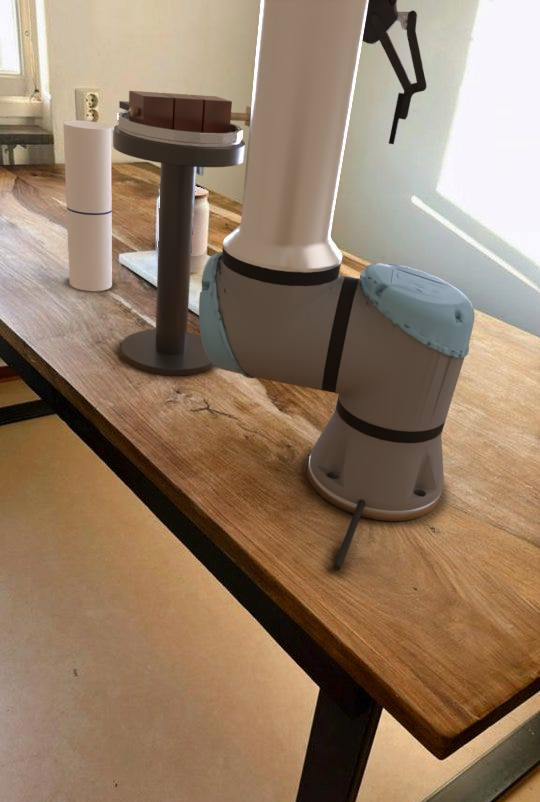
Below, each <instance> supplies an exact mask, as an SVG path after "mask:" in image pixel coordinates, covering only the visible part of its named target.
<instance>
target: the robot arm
mask: <svg viewBox="0 0 540 802" xmlns="http://www.w3.org/2000/svg"><path fill="white" fill-rule="evenodd" d="M397 3H398V0H260V9H259V17H258V18H259V19H258V31H257V41H256V50H255V51H256V53H255V62H254V63H255V65H254V72H253V73H254V75H253V85H252V97H251V98H252V99H251V105H250V106H251V117H250V127H249V129H248V139H247V141H248V142H247V150H246V151H247V152H246V163H245V172H244V173H245V175H244V182H243V183H244V184H243V185H244V186H243V194H242V207H241V215H240V223H239V225H238V226H237V227H236V228H235V229H233V230H232V231H231V232H230V233H229V234H227V236H225V237H224V238H223V242H222V251H220V252H217V253H214V254H212V255H211V256H210V257H209V258H208V259H207V261H206V263H205V266H204V267H203V272H202V277H201V291H200V292H199V298H198V299H199V301H198V322H199V333H200V336H201V339H202V344H203V348H204V350H205V353H206V355H207V357H208V358H209V359H210V361H211V362H212V363H213V365H215V366H214V367H216V368H218V369H219V370H222V371H227V372H231V373H235V374H239V375H242V376H243V377H245V378H247V379H254V378H256V379H261V380H266V381H270V382H277V383H281V384H285V385H291V386H297V387H302V388H307V389H312V390H317V391H323V392H329V393H332V394H337V400H336V405H335V410H334V411H333V413H332V415H331V417H330V419H329V420H328V422H327V423H326V425H325V427H324V429H323V430H322V432H321V433H320V435H319V437H318V438H317V440H316V442H315V444H314V445H313V447H312V448H311V449H312V450H311V452H310V455H309V458H308V464H307V470H306V471H307V478H308V480H309V483H310V484H311V486H312V488H313V489H314V490H315V491H316V493H317V494H318V495H320V496H321V497H322V498H323V499H324V500H325V501H327V502H329V503H330V504H332V505H333V506H335V507H337V508H339V509H340V510H343V511H345V512H347V513H349V514H353V515H352V517H351V520H350V523H349V525H348V528H347V530H346V533H345V535H344V538H343V541H342V544H341V546H340V548H339V551H338V553H337V555H336V558H335V560H334V563H333V565H332V569H333V570H334V571H336V572H337V571H340V570H341V568H342V566H343V563H344V561H345V559H346V556H347V553H348V551H349V549H350V546H351V543H352V541H353V538H354V535H355V534H356V533H355V532H356V530H357V527H358V525H359V521H360V519H361V517H362V518H367V519H371V520H376V521H377V520H378V521H387V522H400V521H408V520H409V521H410V520H413V519H417V518H421V517H423V516H425V515H427V514H429V513H430V512H432V511H433V510H434V509H435V508H436V507H437V505H438V503H439V502H440V499H441V496H442V492H443V489H444V481H445V475H444V473H445V472H444V457H443V441H442V440H443V439H442V434H443V431H444V427H445V425H446V420H447V418H448V414H449V411H450V407H451V404H452V400H453V397H454V394H455V390H456V387H457V383H458V380H459V377H460V374H461V370H462V367H463V364H464V361H465V360H464V359H465V358H466V357H467V356H468V355H469V352H470V341H471V337H472V333H473V329H474V325H475V317H476V315H475V310H474V306H473V303H472V302H471V301H470V299H469V298H468V297H467V296H466V295H465V294H464V293H463V292H462V291H461V290H459V288H457V287H455V286H454V285H453V284H451V283H449V282H447V281H445V280H444V279H442V278H439V277H437V276H435V275H434V274H430V273H427V272H425V271H422V270H419V269H416V268H413V267H409V266H405V265H400V264H395V263H388V264H386V263H383V262H377V263H372V264H368V265H366V266H365V268H364V269H363V271H362V272H360V274H359V278H358V277H352V276H347V275H343V274H340V272H341V266H342V260H343V254H342V253H341V250H340V249H339V248H338V247H337V245H336V244H335V242H334V241H333V240H332V237H331V232H332V226H333V220H334V213H335V207H336V201H337V196H338V189H339V184H340V183H339V182H340V177H341V171H342V165H343V159H344V151H345V147H346V141H347V135H348V128H349V122H350V115H351V111H352V105H353V104H352V103H353V99H354V92H355V87H356V79H357V74H358V68H359V61H360V55H361V50H362V44H363V42H364V43H366V44H369V45H375V44H378V43H380V44H381V47H382V49H383V50H384V52H385V54H386V57H387V58H388V61H389V63H390V65H391V67H392V69H393V71H394V74H395V76H396V77H397V80H398V81H399V83H400V85H401V88H402V89H403V92H398V94H397V99H396V103H395V104H396V105H395V109H394V114H393V119H392V124H391V129H390V135H389V139H388V145H394V144H395V141H396V136H397V131H398V127H399V122H400V120H407V118H408V116H409V111H410V107H411V101H412V98H413V96H414V94H416V93H421V92H424V91H425V90H427V87H428V85H427V79H426V74H425V70H424V65H423V60H422V56H421V50H420V45H419V40H418V36H417V35H418V34H417V21H418V13H417V12H416V10H410V11H398V8H397V7H398V6H397ZM397 21H398V22H399V23H400V27H401V29H402V30H403V31H406V37H407V42H408V46H409V53H410V57H411V61H412V67H413V71H414V76H415V79H416V80H415V81H416V82H413V83H412V82H411V80H410V78H409V75H408V72H407V71H406V69H405V67H404V65H403V63H402V60H401V58H400V57H399V54H398V53H397V50H396V48H395V46H394V43H393V41H392V40H391V37H390V36H389V33H388V32H389V30H391V29H392V27H393V26H394V25H395V24H396V23H397Z"/></svg>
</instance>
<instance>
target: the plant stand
mask: <svg viewBox="0 0 540 802" xmlns="http://www.w3.org/2000/svg"><path fill="white" fill-rule="evenodd" d="M118 105H119V106H118V108H119V109H122V110H123V111H120V112H117V124H116V125H115V126H113V127H112V147H113V149H114V150H116V151H117V152H119V153H121V154H123V155H126V156H129V157H133V158H136V159H140V160H143V161H149V162H154V163H158V164H160V175H159V176H160V178H159V179H160V180H159V181H160V182H159V184H160V208H159V207H158V213H159V241H158V240H157V241H158V247H157V276H156V305H155V306H156V310H155V328H154V329H146V330H141V331H138V332H135V333H132V334H129V335H128V336H126V337H124V339H123V340H122V342H121V345H120V353H121V355H120V356H121V357H122V359H123V360H124V361H125V362H126V363H127V364H128V365H130V366H131V367H133V368H135V369H137V370H140V371H142V372H146V373H148V374H149V373H150V374H154V375H159V376H166V377H167V376H169V377H184V376H185V377H186V376H194V375H198V374H202V373H205V372H207V371H210V370H212V369H213V368H214V367H216V366H215V365H213V363H212V362H211V361H210V359H209V358H208V357H207V355H206V353H205V350H204V348H203V344H202V339H201V334H197V333H194V332H190V331H188V321H189V320H188V319H189V304H190V302H189V301H190V284H191V268H192V254H191V253H192V235H193V228H194V224H193V218H194V213H195V200H196V199H195V192H196V191H195V184H196V182H197V173H196V167H204V168H228V167H229V168H230V167H234V166H239V165H242V164H243V163H244V161H245V149H246V142H245V141H244V140H243V133H244V129H243V128H241V126H240V125H237V124H235V123H232V122H230V132H229V133H202V132H191V131H181V130H172V129H166V128H160V127H154V126H149V125H145V124H141V123H137V122H132V121H130V120H129V101H123V100H119V103H118Z"/></svg>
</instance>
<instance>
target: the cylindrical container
mask: <svg viewBox="0 0 540 802" xmlns="http://www.w3.org/2000/svg"><path fill="white" fill-rule="evenodd" d="M62 125H63V126H62V127H63V128H62V129H63V148H64V149H63V152H64V170H65V171H64V176H65V200H66V226H67V249H68V273H69V275H68V276H69V278H68V279H69V285H70V286H71V287H72V288H74V289H77V290H80V291H86V292H101V291H106V290H109V289H111V288H112V286H113V230H112V229H113V226H112V225H113V221H112V220H113V215H112V213H113V210H112V207H113V205H112V204H113V203H112V202H113V201H112V199H113V198H112V188H113V187H112V126H111V125H110V124H106V123H102V122H97V121H89V120H78V119H77V120H76V119H73V120H64V121H63V122H62Z"/></svg>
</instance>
